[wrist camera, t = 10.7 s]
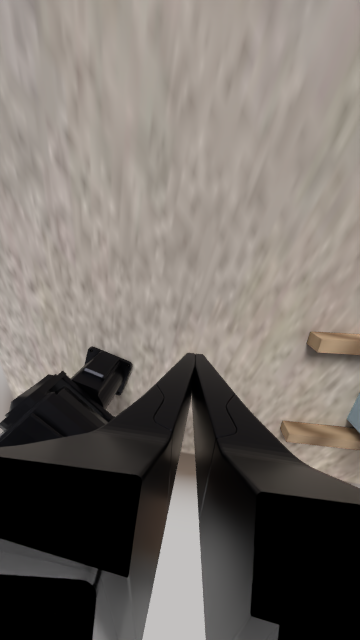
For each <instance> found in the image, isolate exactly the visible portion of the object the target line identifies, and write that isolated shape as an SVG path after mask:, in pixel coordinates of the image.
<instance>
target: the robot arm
mask: <svg viewBox="0 0 360 640" xmlns="http://www.w3.org/2000/svg"><path fill="white" fill-rule="evenodd" d="M92 350H93V351H92ZM128 365H129V366H128ZM131 367H132V363H131V362H129V361H127V360H124V359H122V358H120V357H117V356H115V355H112V354H110V353H108V352H105V351H103V350H100V349H98V348H95V347H90V348H89V349H88V352H87V357H86V361H85V365H84V367H82V368H81V369H80V370H79V371H78V372H77V373H76V374H75V375H74V376H73V377H72V378H71V379H70V378H69V377H68V376H67V375H66V373H65V372H64V371H62V372H61V373H60V374H58V375H56V374H55V375H49V374H48V375H47V376H46V377H45V378H43V379H42V380H41V381H39V382H38V383H37V384H35V385H34V386H33V387H31V388H30V389H28V390H27V391H25V392H24V393H23V394H21V395H20V396H18V397H17V398H16V399H14V400H13V401H12V402H11V406H10V411H9V412H8V413H7V414H6V415H5V416H6V418H5V419H4V420H3V421H2V422H1V423H0V428H1V429H3V430H4V431H3V432H2V433H1V434H0V640H142V637H143V632H144V627H145V622H146V617H147V613H148V608H149V602H150V598H151V593H152V588H153V583H154V578H155V573H156V568H157V564H158V559H159V554H160V549H161V544H162V539H163V534H164V529H165V524H166V519H167V514H168V510H169V505H170V500H171V495H172V490H173V485H174V480H175V475H176V470H177V465H178V461H179V456H180V451H181V446H182V441H183V436H184V431H185V426H186V421H187V416H188V412H189V407H190V402H191V396H192V410H193V427H194V444H195V461H196V478H197V495H198V512H199V530H200V546H201V563H202V582H203V598H204V614H205V633H206V640H360V488H358V487H355V486H353V485H351V484H348V483H346V482H344V481H342V480H339V479H337V478H335V477H332V476H330V475H328V474H325V473H323V472H321V471H319V470H316V469H314V468H312V467H310V466H309V465H307V464H305V463H304V462H302V461H301V460H299V459H298V458H297V457H296V456H294V455H293V454H292V453H291V452H290V451H289V450H288V449H287V448H286V447H285V446H284V445H283V444H282V443H281V442H280V441H279V440H278V439H277V438H276V437H275V436H274V435H273V434H272V433H271V432H270V431H269V430H268V429H267V428H266V427H265V426H264V425H263V424H262V423H261V422H260V421H259V420H258V419H257V418H256V417H255V416H254V415H253V414H252V413H251V412H250V410H249V409H248V408H247V407H246V406H245V405H244V404H243V402H242V401H241V400H240V399H239V398H238V396H237V395H235V393H234V392H233V390H232V389H231V388H230V387H229V386H228V384H227V383H226V382H225V381H224V379H223V378H222V377H221V376H220V375H219V373H218V372H217V371H216V370H215V368H214V367H213V366H212V365H211V364H210V362H209V361H208V360H207V359H206V357H205V356H204V355H203V354H194V353H187V354H186V355H185V356H184V357H183V358H182V359H181V360H180V361H179V362H178V363H177V364H176V365H175V366H174V367H172V368H171V369H170V370H169V371H168V372H167V373H166V374H165V375H164V376H163V377H162V378H161V379H160V380H159V381H158V382H157V383H156V384H155V385H154V386H153V387H152V388H151V389H150V390H149V391H148V392H146V393H145V394H144V395H143V396H142V397H141V398H139V399H138V400H137V401H136V402H134V403H133V404H132V405H131V406H129V407H128V408H127V409H125V410H124V411H123V412H121V413H120V414H119V415H117V416H116V417H115V416H114V417H113V416H112V415H111V414H110V413H109V412H108V411H106V408H107V406H108V405H109V403H110V402H111V400H112V398H113V397H114V395H115V394H116V395H121V393H122V392H123V389H124V386H125V383H126V381H127V378H128V375H129V373H130V370H131Z"/></svg>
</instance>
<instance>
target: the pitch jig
mask: <svg viewBox="0 0 360 640" xmlns="http://www.w3.org/2000/svg"><path fill="white" fill-rule="evenodd" d="M307 344H308V345H309V346H310V347H312V348H313V349H314V350H315V351H317V352H320V353H336V354H352V355H360V334H346V333H326V332H310V335H309V338H308V341H307ZM280 429H281V431H282V433H283V435H284V437H285V440H286V442H292V443H301V444H310V445H319V446H328V447H336V448H345V449H354V450H360V433H359V432H358V431H357V430H356V429H355V428H348V427H339V426H329V425H319V424H309V423H299V422H289V421H282V424H281V428H280Z"/></svg>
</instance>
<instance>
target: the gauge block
mask: <svg viewBox="0 0 360 640" xmlns="http://www.w3.org/2000/svg"><path fill="white" fill-rule="evenodd" d="M347 420H348V421H349V422H350V423H351V424H352V425H353V426H354V427H355V429H356V430H357V431H358V432H359V433H360V393H359V395H358V397H357V399H356V401H355V403H354V405H353V407H352V409H351V411H350V413H349V415H348V417H347Z"/></svg>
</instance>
